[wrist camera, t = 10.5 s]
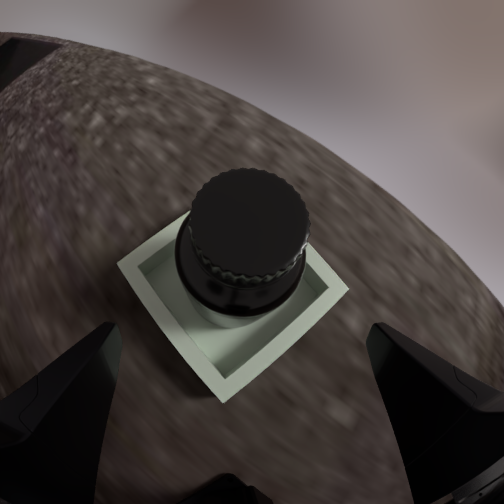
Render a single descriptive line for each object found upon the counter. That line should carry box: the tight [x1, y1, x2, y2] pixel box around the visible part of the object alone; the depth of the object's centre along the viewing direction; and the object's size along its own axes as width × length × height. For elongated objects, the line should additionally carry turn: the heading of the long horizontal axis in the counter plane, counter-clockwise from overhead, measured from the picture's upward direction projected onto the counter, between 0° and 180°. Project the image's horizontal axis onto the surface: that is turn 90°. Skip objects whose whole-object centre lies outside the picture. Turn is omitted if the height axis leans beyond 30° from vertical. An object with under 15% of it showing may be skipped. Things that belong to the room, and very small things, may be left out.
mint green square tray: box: [117, 210, 349, 403], centre depth 21 cm, size 12×12×3 cm
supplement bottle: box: [174, 168, 311, 328], centre depth 16 cm, size 7×7×12 cm
